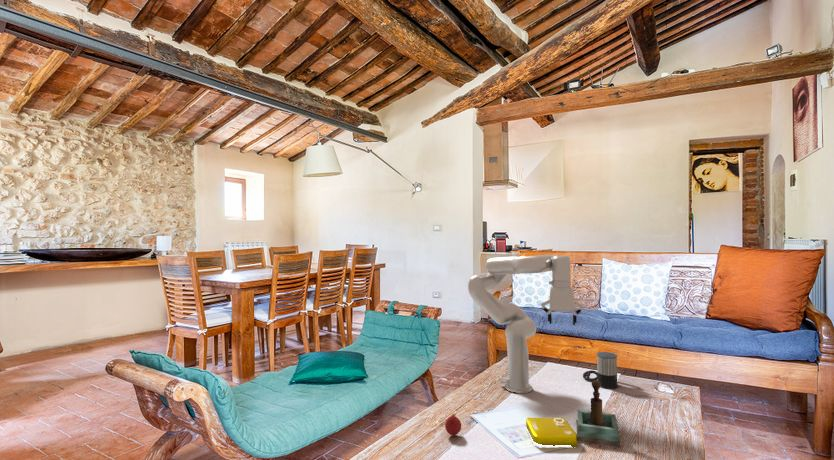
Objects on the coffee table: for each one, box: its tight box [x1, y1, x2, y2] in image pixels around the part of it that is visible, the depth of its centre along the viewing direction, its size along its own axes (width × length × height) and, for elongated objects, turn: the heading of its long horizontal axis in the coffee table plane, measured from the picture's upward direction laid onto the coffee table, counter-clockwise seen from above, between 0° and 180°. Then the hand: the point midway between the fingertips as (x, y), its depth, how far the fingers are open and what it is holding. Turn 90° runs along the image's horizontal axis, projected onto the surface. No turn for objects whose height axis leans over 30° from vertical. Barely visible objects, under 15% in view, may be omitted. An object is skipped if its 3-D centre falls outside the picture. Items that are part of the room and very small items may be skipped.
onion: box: [444, 413, 462, 437], centre depth 152 cm, size 6×6×8 cm
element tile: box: [525, 417, 578, 449], centre depth 150 cm, size 15×15×5 cm
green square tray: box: [575, 409, 622, 449], centre depth 151 cm, size 14×14×6 cm
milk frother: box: [582, 351, 619, 390], centre depth 202 cm, size 14×16×15 cm
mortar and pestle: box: [587, 380, 607, 427], centre depth 151 cm, size 7×6×18 cm
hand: (562, 323), depth 182 cm, fingers open, 9 cm apart
